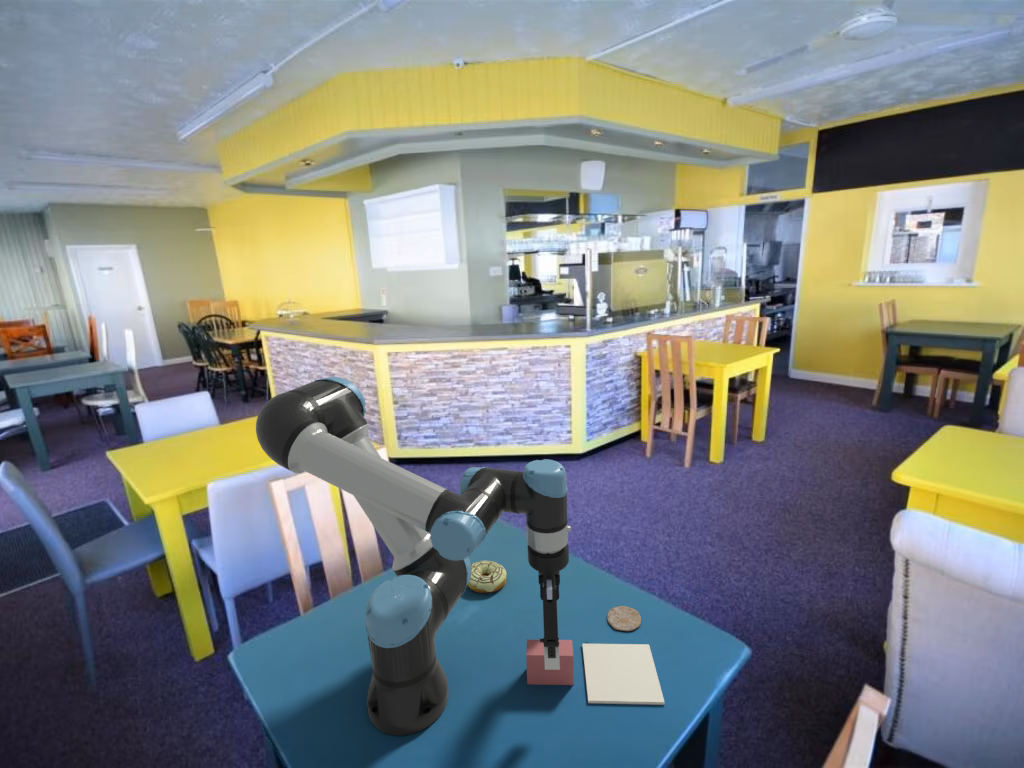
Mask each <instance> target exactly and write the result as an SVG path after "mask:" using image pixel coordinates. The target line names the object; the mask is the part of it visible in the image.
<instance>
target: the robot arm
mask: <svg viewBox="0 0 1024 768" xmlns="http://www.w3.org/2000/svg"><path fill="white" fill-rule="evenodd" d="M366 405H367V404H366V399H365V397H364V395H363V393H362V391H361V390H360V389H359V388H358V387H357V385H356V384H354V383H353V382H352V381H350V380H348V379H346V378H342V377H340V376H328V377H325V378H319V379H315V380H314V381H312V382H311V381H310V382H309V383H306V384H304V385H301V386H298V387H297V388H293V389H291V390H289V391H286V392H281V393H278V394H276V395H275V396H273V397H271V398H270V399H269V400H268V401H266V402H265V404H263V405H262V407H261V409H260V410H259V412H258V415H257V418H256V422H255V433H256V439H257V441H258V444H259V445H260V447H261V449H262V450H263V452H264V453H265V454H266V455H267V457H268V458H269V459H271V460H272V461H273V462H275V464H277V465H279V466H281V467H282V468H284V469H286V470H288V471H290V472H292V473H293V474H302V473H304V472H306V473H308V474H310V475H311V476H314V477H315V478H316V477H317V478H318V479H320V480H321V481H324V482H326V483H328V484H330V485H332V486H333V487H336V488H338V489H340V490H342V491H344V492H346V493H348V494H350V495H351V496H353V497H354V499H355V500H356V501H357V503H358V505H359V506H360V508H361V509H362V511H363V512H364V514H365V515H366V517H367V519H368V520H369V522H370V523H371V524H372V527H374V529H375V531H376V532H377V533H378V536H380V538H381V539H382V541H383V543H384V544H385V545H386V547H387V548H388V551H390V553H391V555H392V556H393V561H392V562H393V563H392V567H391V568H392V571H393V572H394V574H395V575H396V576H394V577H392V580H389V579H387V580H385V581H384V582H382V583H380V584H379V585H378V586H377V587H376V588H375V589H374V590H373V591H372V593H371V594H370V596H369V597H368V600H367V603H366V607H365V631H366V634H367V640H368V647H369V652H370V659H371V660H370V661H371V667H372V675H371V679H370V682H369V683H370V684H369V687H368V690H367V695H366V705H367V707H366V708H367V712H368V713H367V714H368V717H369V720H370V721H371V723H372V725H373V726H374V727H375V728H376V729H377V730H378V731H381V732H382V733H384V734H387V735H390V736H409V735H413V734H416V733H419V732H422V730H424V729H426V728H428V727H430V726H431V725H432V724H433V723H435V722H436V721H437V720H438V719H439V718H440V717H441V715H442V713H443V712H444V711H445V708H446V707H447V704H448V701H449V697H450V696H449V694H450V693H449V683H448V677H447V675H446V672H445V671H444V668H443V667H442V665H441V663H440V661H439V659H438V658H437V657H438V656H437V652H436V651H437V650H436V642H435V639H436V634H437V632H438V631H439V629H440V627H441V626H442V624H443V623H444V622H445V620H446V619H447V617H448V615H449V614H450V613H451V611H452V610H453V608H455V606H456V604H457V602H458V601H459V600H460V599H461V598H462V596H463V595H464V593H465V592H466V588H467V587H468V583H469V581H470V578H471V565H472V564H471V560H470V558H469V556H471V555H472V554H473V553H474V552H475V551H476V550H477V548H478V547H479V546H481V544H482V542H484V540H485V537H486V536H487V535H488V533H489V531H490V530H491V528H492V527H493V526H494V524H495V523H496V522H497V520H498V519H499V518H500V516H501V515H502V513H503V512H504V513H512V514H522V515H525V518H526V519H525V528H526V543H527V560H528V564H529V566H530V568H532V569H533V570H535V571H537V572H538V585H539V591H540V592H539V593H540V594H539V596H540V597H539V598H540V600H541V601H542V611H543V612H542V616H543V638H539V640H540V643H543V645H544V661H545V670H560V658H559V640H560V636H559V627H558V626H559V625H558V621H559V620H558V616H559V615H558V600H559V599H560V584H561V577H560V576H561V575H560V571H562V570H563V569H565V568H566V567H567V566H568V564H569V561H570V559H569V558H570V551H569V532H571V531H572V527H571V526H570V525H568V523H569V522H568V490H569V489H568V485H567V475H566V473H567V472H566V469H565V467H564V465H562V463H560V462H558V461H557V460H553V459H545V458H544V459H541V460H539V459H536V460H533V461H530V462H528V463H527V464H525V466H524V468H523V471H519V470H509V469H503V468H501V469H500V468H494V467H493V468H492V467H489V466H481V467H474V466H472V467H469V468H467V469H465V471H464V472H463V474H462V478H461V479H460V482H459V486H458V487H459V489H458V492H459V494H458V493H456V492H454V491H452V490H449V489H447V488H445V487H443V486H441V485H439V484H436V483H434V482H433V481H430V480H429V479H426V478H424V477H422V476H420V475H418V474H416V473H413V472H411V471H409V470H407V469H405V468H403V467H401V466H400V465H397V464H395V463H392V462H390V461H389V460H386V459H384V458H382V457H381V455H380V454H379V452H378V450H377V449H376V448H375V446H374V444H373V443H372V442H371V440H370V438H369V437H368V430H369V423H368V422H367V420H366V418H365V415H366V412H367V411H366V410H367V408H366V407H365V406H366Z"/></svg>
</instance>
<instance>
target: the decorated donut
mask: <svg viewBox="0 0 1024 768" xmlns="http://www.w3.org/2000/svg"><path fill="white" fill-rule="evenodd" d="M506 582H507V571H506V569H505V567H504V566H503V565H502V564H500V563H498V562H496V561H492V560H479V561H476V562H473V563H472V564H471V578H470V581H469V583H468V585H467V587H468V588H469V589H470V590H471V591H474V592H476V593H479V594H481V593H483V594H485V593H487V594H488V593H495V592H497V591H499V590H500V589H503V587H505V585H506Z"/></svg>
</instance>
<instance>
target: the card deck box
mask: <svg viewBox="0 0 1024 768" xmlns="http://www.w3.org/2000/svg"><path fill="white" fill-rule="evenodd" d="M573 647H574V646H573V640H572V639H559V658H560V670H545V661H544V645H543V643H540V639H530V638H529V639H526V653H525V654H526V655H525V657H526V658H525V659H526V684H527V685H540V686H541V685H544V686H545V685H548V686H550V685H551V686H574V648H573Z"/></svg>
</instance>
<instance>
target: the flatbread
mask: <svg viewBox="0 0 1024 768" xmlns="http://www.w3.org/2000/svg"><path fill="white" fill-rule="evenodd" d="M606 617H607V618H606V620H607V622H608V624H609V625H610V626H611V627H612V628H613V630H616V631H620V632H621V631H623V632H633V631H634V630H636V629H637V628H639V627H640V626H641V623H642V617H641V615H640V613H639V611H638V610H637V609H635V608H632V607H630V606H626V605H619V606H614V607H612V608H610V609H609V611H608V612H607V616H606Z"/></svg>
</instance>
